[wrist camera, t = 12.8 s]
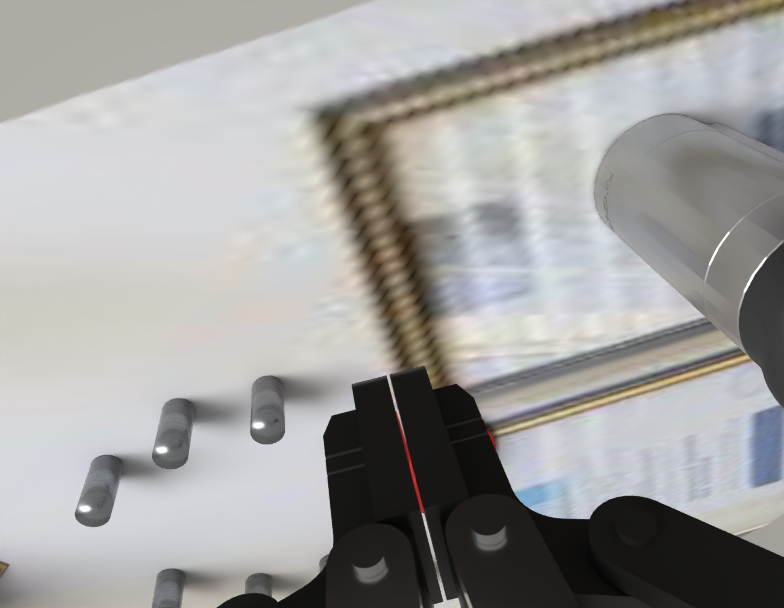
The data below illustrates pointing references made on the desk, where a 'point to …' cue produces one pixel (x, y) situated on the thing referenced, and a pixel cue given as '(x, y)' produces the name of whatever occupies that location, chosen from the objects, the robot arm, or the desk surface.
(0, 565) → the eiffel tower
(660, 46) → the desk surface
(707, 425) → the desk surface
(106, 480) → the spacer posts
